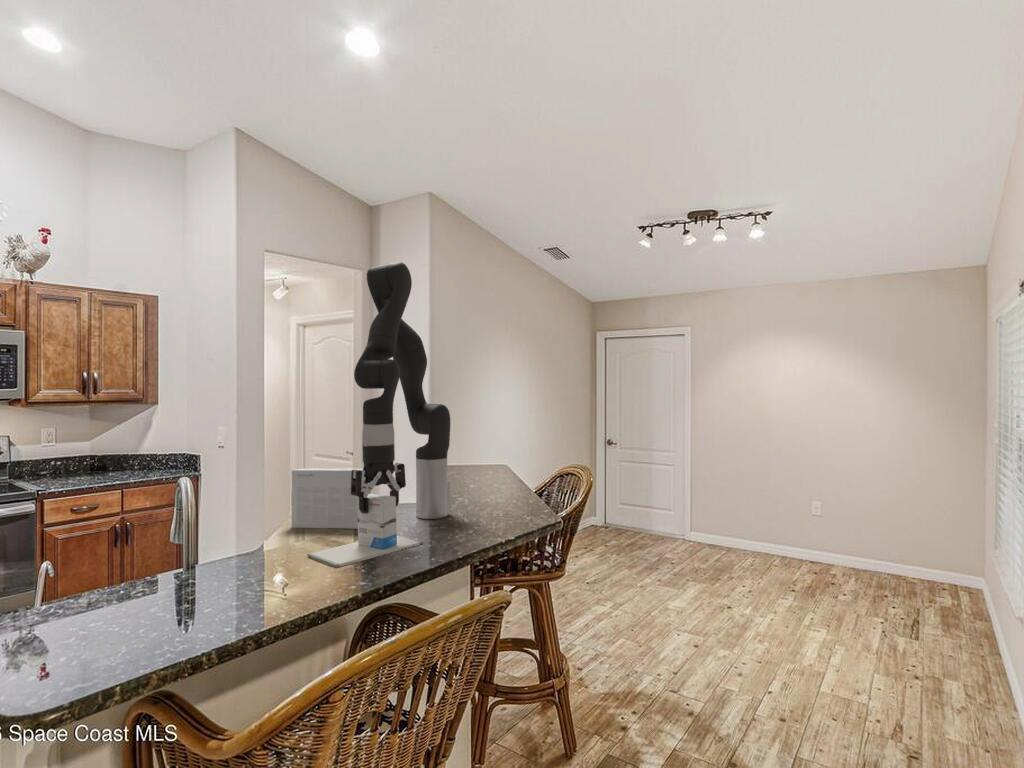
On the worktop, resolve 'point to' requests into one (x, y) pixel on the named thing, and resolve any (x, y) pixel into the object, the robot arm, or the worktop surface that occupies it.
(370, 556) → the mat
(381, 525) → the ink box
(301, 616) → the worktop surface
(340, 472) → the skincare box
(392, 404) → the robot arm
